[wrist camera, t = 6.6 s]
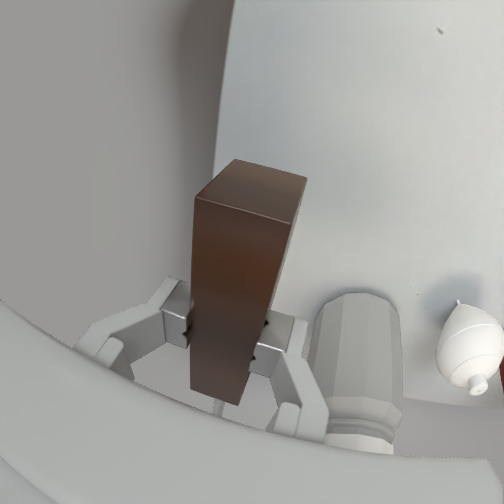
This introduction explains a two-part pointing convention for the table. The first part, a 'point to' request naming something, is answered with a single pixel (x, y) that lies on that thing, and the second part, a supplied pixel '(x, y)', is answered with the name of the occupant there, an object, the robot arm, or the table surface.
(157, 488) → the robot arm
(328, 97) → the table surface
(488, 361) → the spinning top
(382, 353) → the jar
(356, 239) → the table surface
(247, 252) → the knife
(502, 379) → the mug
